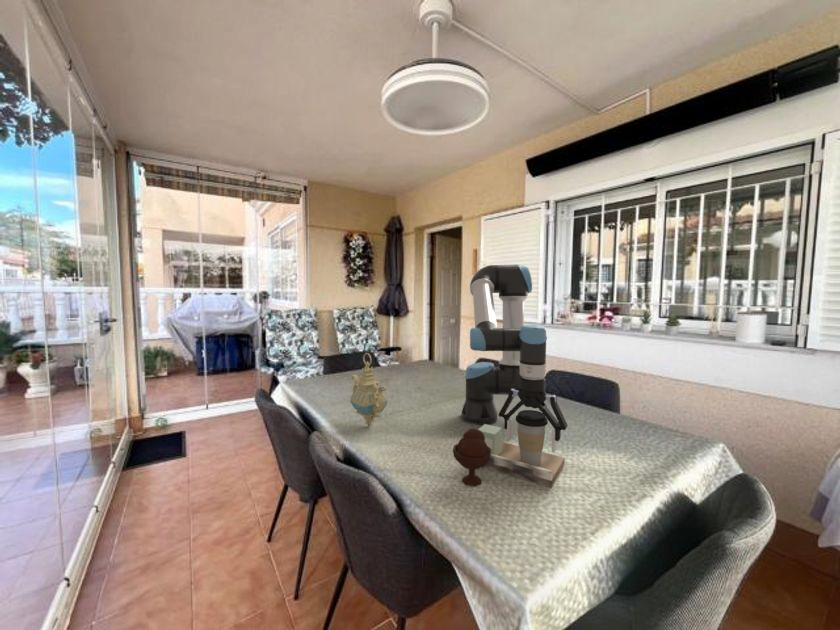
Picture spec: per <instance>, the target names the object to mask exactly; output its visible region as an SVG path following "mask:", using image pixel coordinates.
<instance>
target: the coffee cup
mask: <svg viewBox="0 0 840 630" xmlns="http://www.w3.org/2000/svg"><path fill="white" fill-rule="evenodd" d="M514 419H515V422H516V423H517V425H516V426H517V438H518V439H517V440H518V446H519V447H520V458H521V462H523V463H526V464H530V465H534V466H539V465H540V463H541V456H542V452H543V450H544V445H545V444H544V442H545V434H546V426H547V425H548V424H549V421H548V419H547V418H546V417H545V415H544V414H543V413H542V411H540V410H539V411H537V410H534V409H523V410H520V411H519V412H518V413H517V414H516V416H515V418H514Z"/></svg>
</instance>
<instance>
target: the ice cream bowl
mask: <svg viewBox="0 0 840 630" xmlns="http://www.w3.org/2000/svg"><path fill="white" fill-rule="evenodd" d="M478 429H479V428H469V429H468V430H467V431H465V432H464V434H463V436H462V438H460V439H459V440H458V443H456V444H455V445H453V448H452V453H453V457H454V459H455V460H456V461H457V462H458V463H459V465H461V466H462V467H463V468H464V469H467V470H468V474H467V475H464V476H463V477H462V481H461V482H462V483H463V484H464V485H465V486H468V487H478V486H480V485H481V484H482V479H481V477H479V475H476V470H479V469H481V468H484V467H483V466H484V465H486V464H487V463H488V461H489V459H490V455H491V448H489V447H488V446H487V444H486V443H485V437H484V434H483V433H482V432H481V431H480V430H478Z"/></svg>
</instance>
